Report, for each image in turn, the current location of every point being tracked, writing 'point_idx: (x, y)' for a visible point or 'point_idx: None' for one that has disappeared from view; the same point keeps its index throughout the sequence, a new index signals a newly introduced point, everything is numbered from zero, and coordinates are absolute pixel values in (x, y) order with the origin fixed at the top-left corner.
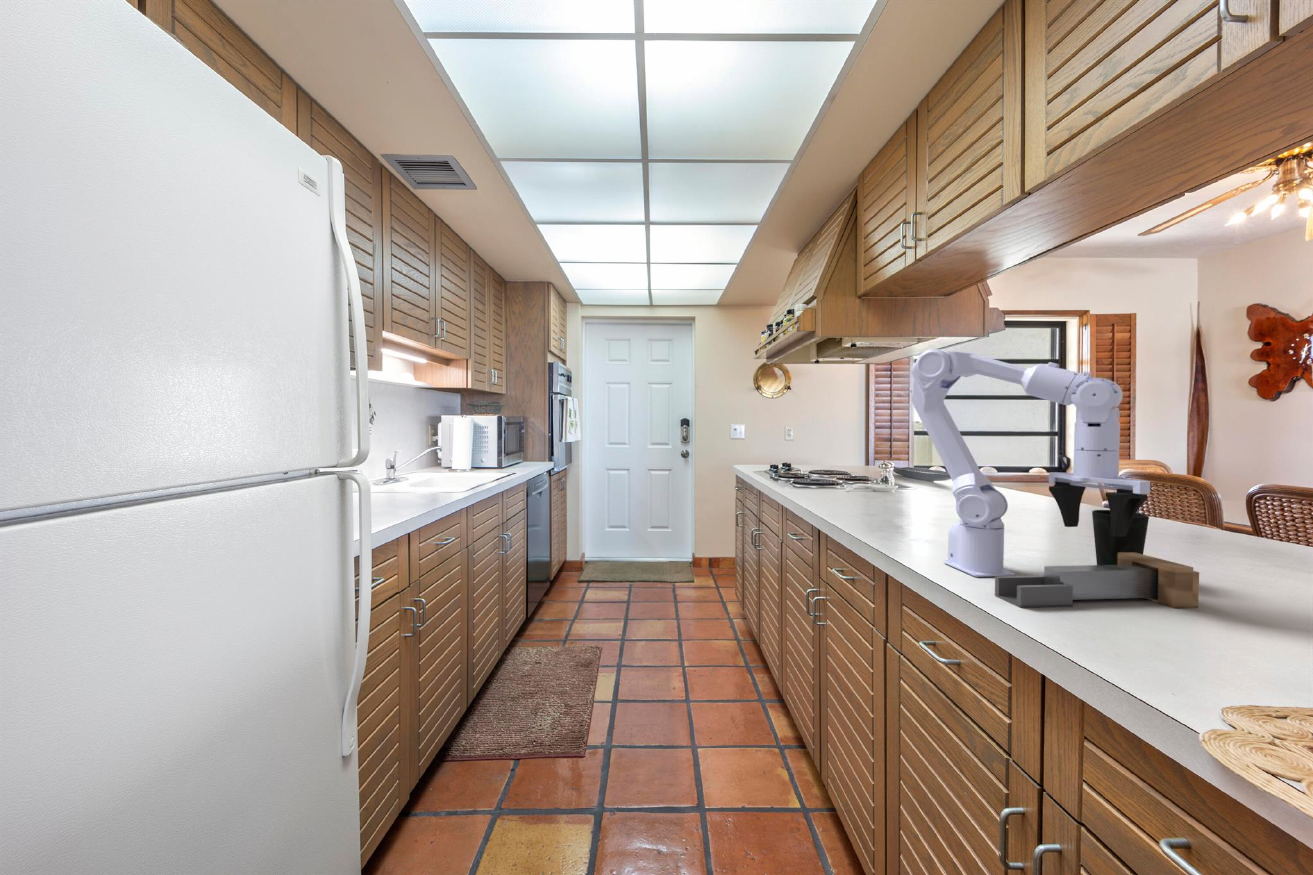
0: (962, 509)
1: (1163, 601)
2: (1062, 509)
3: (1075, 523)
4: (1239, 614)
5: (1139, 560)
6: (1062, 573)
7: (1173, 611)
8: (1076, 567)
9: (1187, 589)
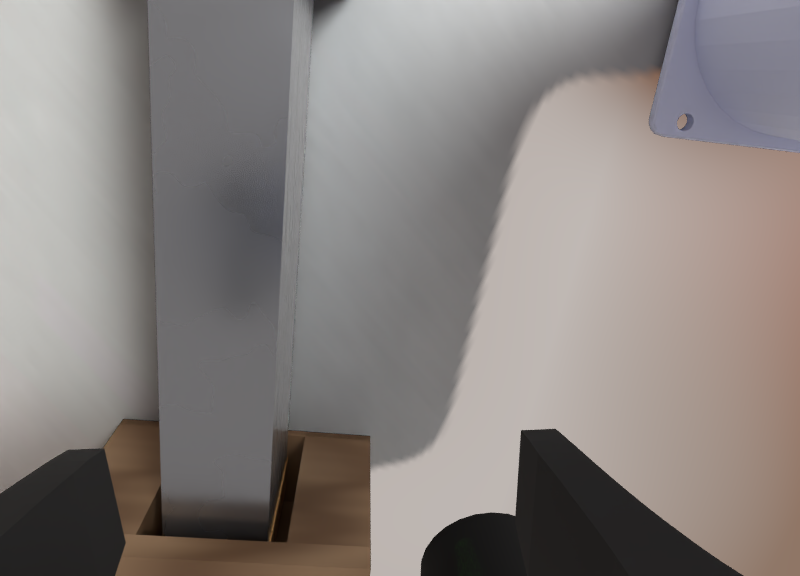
0: None
1: None
2: (633, 530)
3: (523, 526)
4: None
5: (239, 551)
6: None
7: (88, 380)
8: (243, 127)
9: None
